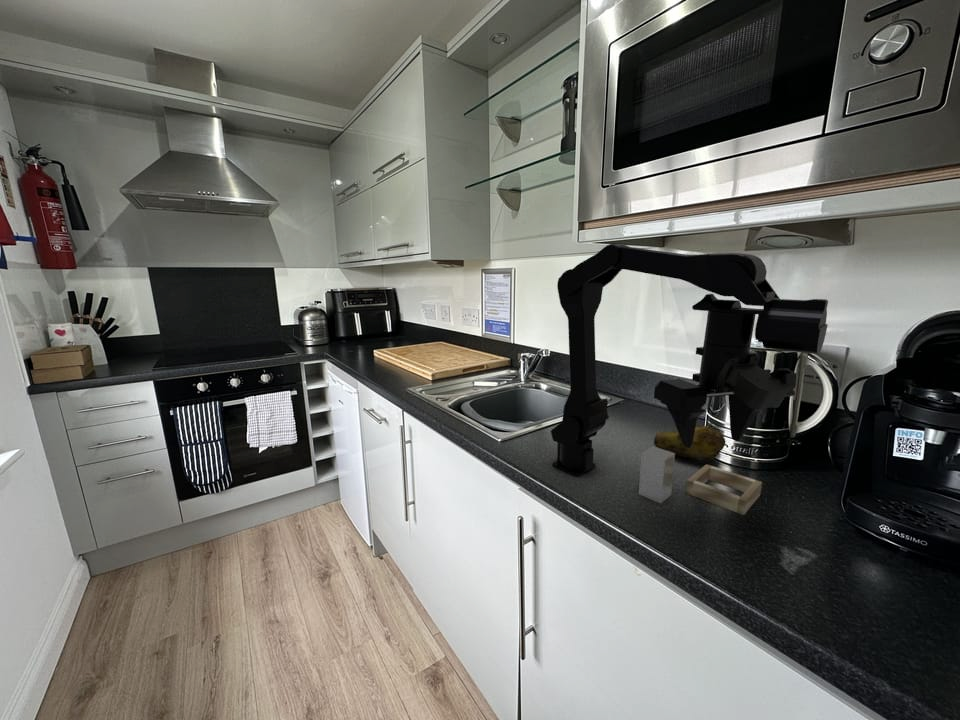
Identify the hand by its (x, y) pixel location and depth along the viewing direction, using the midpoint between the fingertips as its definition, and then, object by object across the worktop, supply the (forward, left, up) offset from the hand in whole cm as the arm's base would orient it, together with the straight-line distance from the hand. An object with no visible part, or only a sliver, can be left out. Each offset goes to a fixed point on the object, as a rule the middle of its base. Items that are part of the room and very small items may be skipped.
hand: (711, 443), depth 59 cm
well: (0, +11, -13) cm, 17 cm away
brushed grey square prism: (-8, +2, -13) cm, 16 cm away
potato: (-10, +21, -13) cm, 26 cm away
